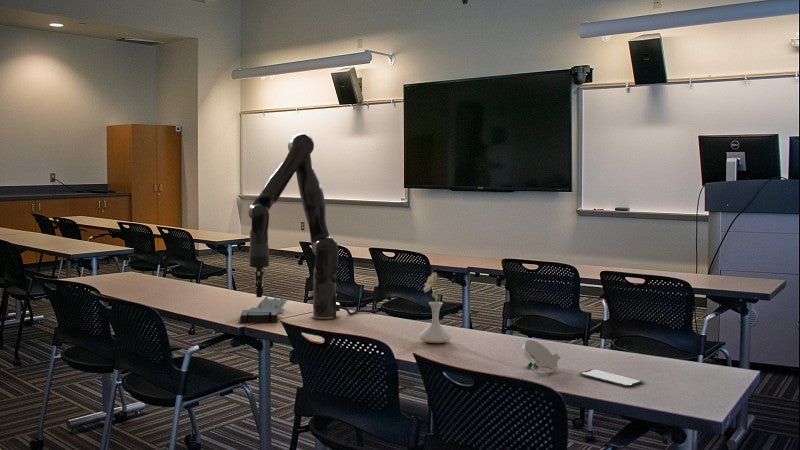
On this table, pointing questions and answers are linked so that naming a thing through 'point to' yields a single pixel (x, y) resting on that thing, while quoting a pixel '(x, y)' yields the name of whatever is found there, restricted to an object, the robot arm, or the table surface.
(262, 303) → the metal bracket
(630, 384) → the smartphone
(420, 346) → the table surface
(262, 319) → the small black pad
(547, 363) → the tabbed white plastic disc
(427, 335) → the flower in vase
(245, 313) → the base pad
